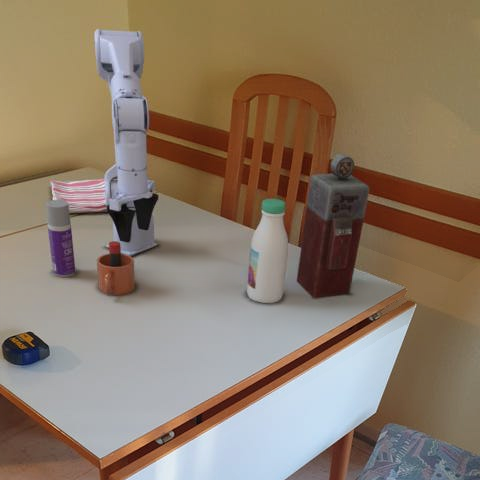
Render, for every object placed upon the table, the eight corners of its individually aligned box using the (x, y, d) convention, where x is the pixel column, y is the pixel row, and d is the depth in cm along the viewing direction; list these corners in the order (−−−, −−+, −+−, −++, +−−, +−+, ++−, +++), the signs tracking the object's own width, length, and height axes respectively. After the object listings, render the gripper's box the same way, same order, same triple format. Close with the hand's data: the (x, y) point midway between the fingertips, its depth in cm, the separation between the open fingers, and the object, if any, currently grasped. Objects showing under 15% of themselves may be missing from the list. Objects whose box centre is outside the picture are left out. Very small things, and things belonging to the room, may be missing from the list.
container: (70, 278, 134) (62, 208, 125) (49, 275, 135) (40, 205, 125) (79, 270, 138) (72, 201, 128) (59, 266, 138) (51, 198, 129)
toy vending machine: (318, 303, 133) (340, 166, 116) (296, 280, 141) (313, 149, 124) (355, 299, 136) (381, 164, 119) (331, 277, 144) (353, 148, 127)
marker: (116, 281, 133) (114, 240, 128) (124, 284, 132) (122, 243, 127) (109, 284, 132) (106, 243, 126) (116, 287, 131) (114, 246, 125)
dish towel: (54, 215, 162) (53, 202, 160) (50, 186, 180) (48, 174, 177) (121, 213, 167) (120, 200, 165) (110, 185, 184) (109, 173, 182)
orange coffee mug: (104, 277, 136) (102, 251, 132) (138, 281, 135) (137, 255, 132) (90, 299, 127) (87, 271, 124) (126, 303, 127) (124, 275, 123)
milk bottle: (286, 292, 136) (298, 199, 124) (276, 307, 130) (287, 211, 118) (253, 284, 138) (261, 192, 126) (241, 299, 132) (249, 204, 120)
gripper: (131, 180, 115) (133, 251, 123) (167, 161, 126) (167, 227, 134) (98, 173, 117) (102, 243, 125) (136, 155, 127) (138, 221, 136)
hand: (134, 235), depth 130 cm, fingers open, 7 cm apart
